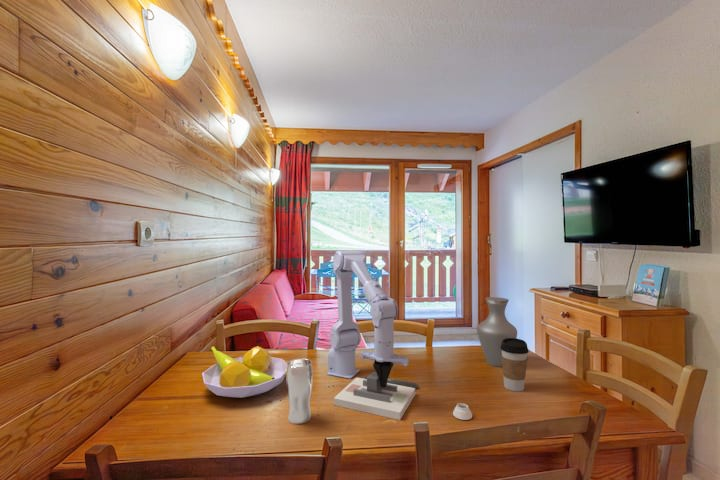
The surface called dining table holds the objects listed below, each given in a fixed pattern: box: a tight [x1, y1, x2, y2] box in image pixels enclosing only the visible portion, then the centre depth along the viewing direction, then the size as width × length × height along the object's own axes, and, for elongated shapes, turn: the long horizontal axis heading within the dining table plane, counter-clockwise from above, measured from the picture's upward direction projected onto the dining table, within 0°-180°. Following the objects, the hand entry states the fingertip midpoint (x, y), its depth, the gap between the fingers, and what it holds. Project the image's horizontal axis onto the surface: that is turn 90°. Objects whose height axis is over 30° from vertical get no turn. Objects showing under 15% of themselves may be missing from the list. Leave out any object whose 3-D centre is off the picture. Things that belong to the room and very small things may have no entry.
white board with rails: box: [333, 374, 419, 421], centre depth 105 cm, size 20×21×4 cm
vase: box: [476, 296, 518, 368], centre depth 132 cm, size 14×14×25 cm
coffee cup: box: [500, 338, 530, 392], centre depth 111 cm, size 8×8×15 cm
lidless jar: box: [452, 402, 473, 421], centre depth 94 cm, size 5×3×5 cm
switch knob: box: [366, 371, 382, 394], centre depth 103 cm, size 3×5×5 cm, turn 156°
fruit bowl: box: [201, 345, 288, 399], centre depth 111 cm, size 28×27×11 cm
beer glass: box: [285, 357, 314, 425], centre depth 92 cm, size 7×7×15 cm
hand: (383, 385), depth 102 cm, fingers closed
